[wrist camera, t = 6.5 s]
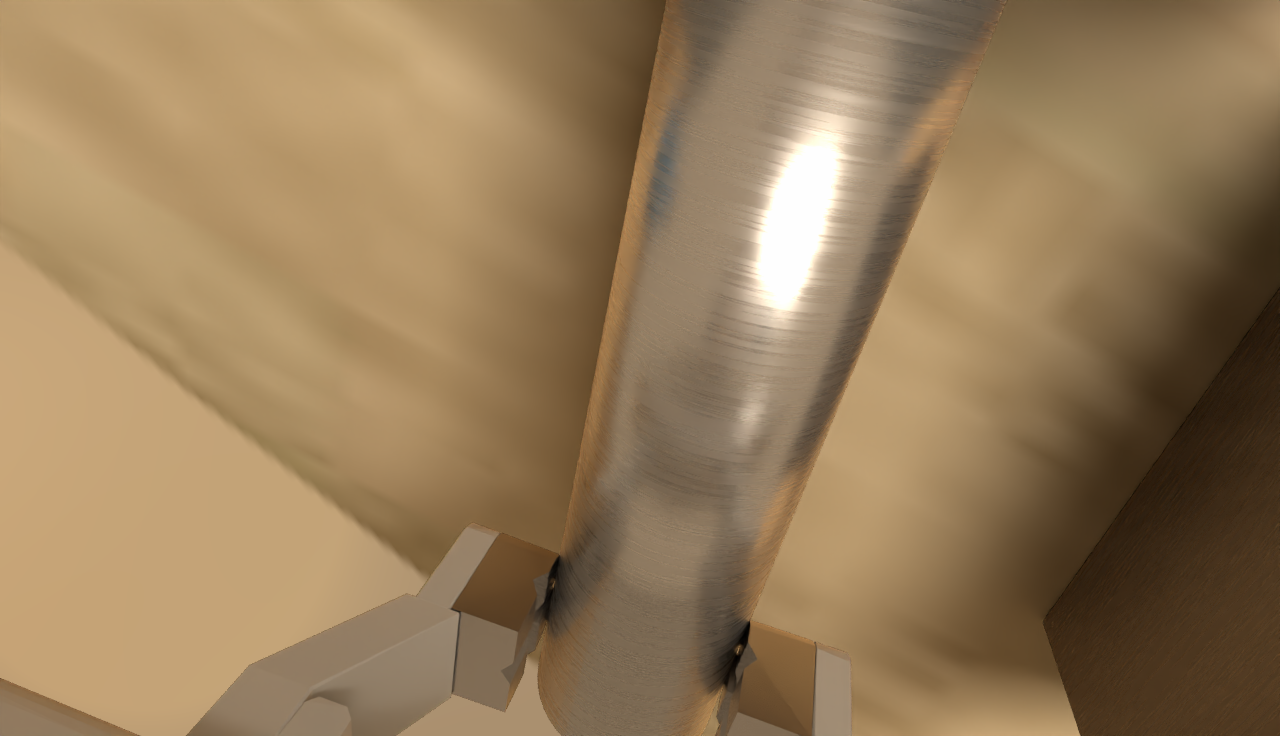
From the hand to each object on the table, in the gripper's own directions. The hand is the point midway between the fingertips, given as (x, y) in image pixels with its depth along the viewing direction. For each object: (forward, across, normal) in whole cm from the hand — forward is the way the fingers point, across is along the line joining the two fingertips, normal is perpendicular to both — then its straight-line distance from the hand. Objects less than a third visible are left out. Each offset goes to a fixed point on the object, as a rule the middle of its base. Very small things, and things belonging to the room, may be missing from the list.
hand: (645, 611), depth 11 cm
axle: (+2, 0, -4) cm, 4 cm away
